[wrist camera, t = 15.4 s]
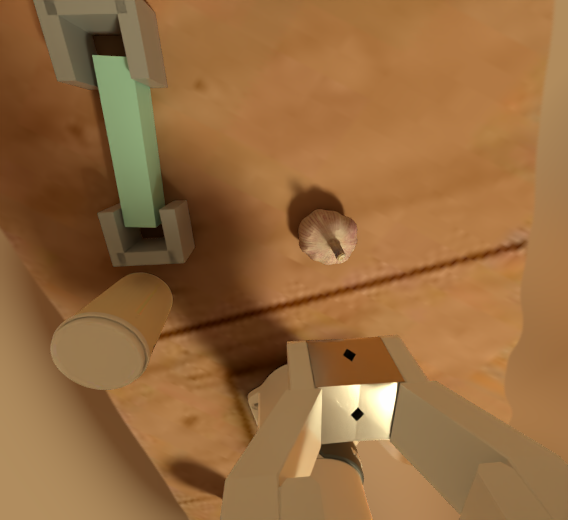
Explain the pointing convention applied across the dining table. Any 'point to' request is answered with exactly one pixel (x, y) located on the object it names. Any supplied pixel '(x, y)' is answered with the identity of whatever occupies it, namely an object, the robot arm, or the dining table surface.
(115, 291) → the coffee cup
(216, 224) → the dining table surface
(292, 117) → the dining table surface
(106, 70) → the slat
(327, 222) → the garlic bulb
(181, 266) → the dining table surface
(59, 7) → the cap
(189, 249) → the cap
